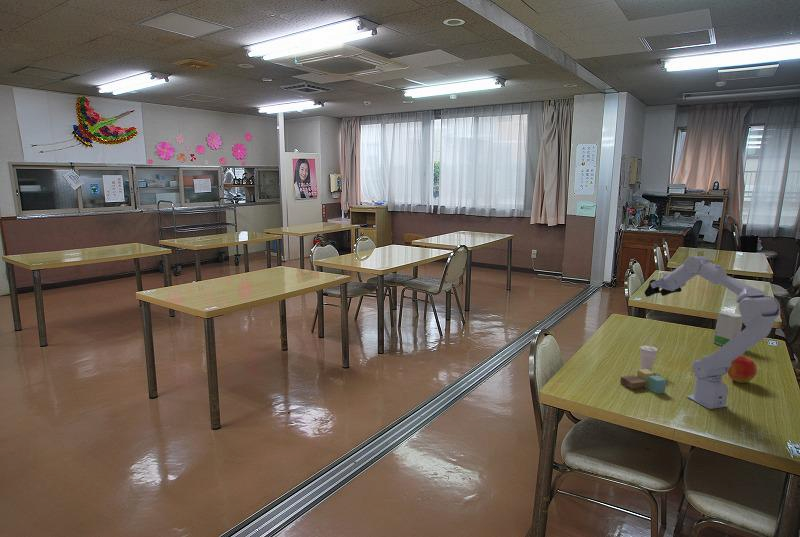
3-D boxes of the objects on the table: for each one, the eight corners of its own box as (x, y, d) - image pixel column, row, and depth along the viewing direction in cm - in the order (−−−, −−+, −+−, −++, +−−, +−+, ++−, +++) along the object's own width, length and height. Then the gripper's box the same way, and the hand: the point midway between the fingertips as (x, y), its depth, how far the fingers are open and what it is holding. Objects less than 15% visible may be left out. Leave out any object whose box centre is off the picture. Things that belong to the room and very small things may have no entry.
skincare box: (712, 343, 224) (717, 311, 221) (720, 341, 227) (725, 310, 224) (730, 349, 217) (735, 316, 214) (739, 347, 219) (744, 315, 216)
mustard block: (652, 385, 177) (654, 373, 176) (644, 386, 176) (645, 374, 175) (644, 381, 181) (646, 368, 180) (636, 382, 180) (637, 369, 179)
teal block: (664, 392, 171) (666, 379, 170) (655, 393, 170) (657, 380, 169) (655, 387, 175) (657, 375, 174) (647, 388, 174) (648, 376, 173)
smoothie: (657, 374, 187) (661, 341, 184) (639, 373, 188) (643, 339, 185) (652, 368, 193) (656, 335, 190) (635, 366, 194) (639, 334, 191)
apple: (743, 388, 176) (747, 363, 174) (718, 378, 184) (721, 354, 182) (759, 384, 179) (764, 359, 177) (734, 374, 188) (738, 351, 186)
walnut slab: (645, 389, 174) (645, 381, 173) (631, 390, 172) (632, 383, 172) (633, 382, 180) (633, 375, 179) (620, 383, 178) (620, 376, 178)
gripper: (689, 267, 177) (664, 284, 189) (658, 268, 173) (634, 285, 185) (697, 283, 174) (672, 300, 185) (666, 285, 170) (641, 301, 181)
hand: (653, 294), depth 185 cm, fingers open, 7 cm apart
